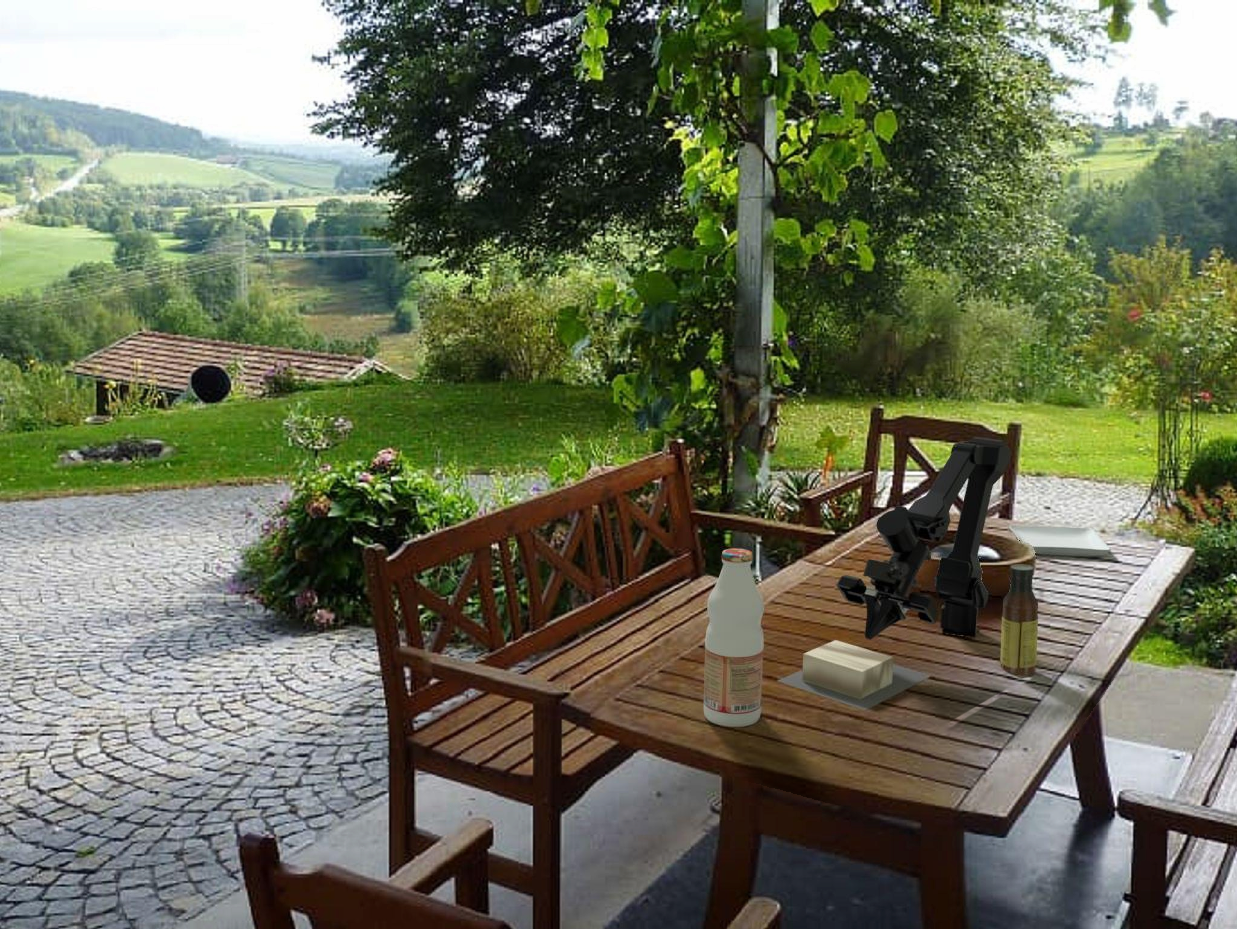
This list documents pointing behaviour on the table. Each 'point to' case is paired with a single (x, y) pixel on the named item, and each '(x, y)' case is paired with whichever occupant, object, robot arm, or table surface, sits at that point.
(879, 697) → the rubber mat
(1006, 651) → the sauce bottle
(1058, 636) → the table surface
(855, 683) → the birch block
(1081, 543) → the salad plate
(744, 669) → the white milk bottle
